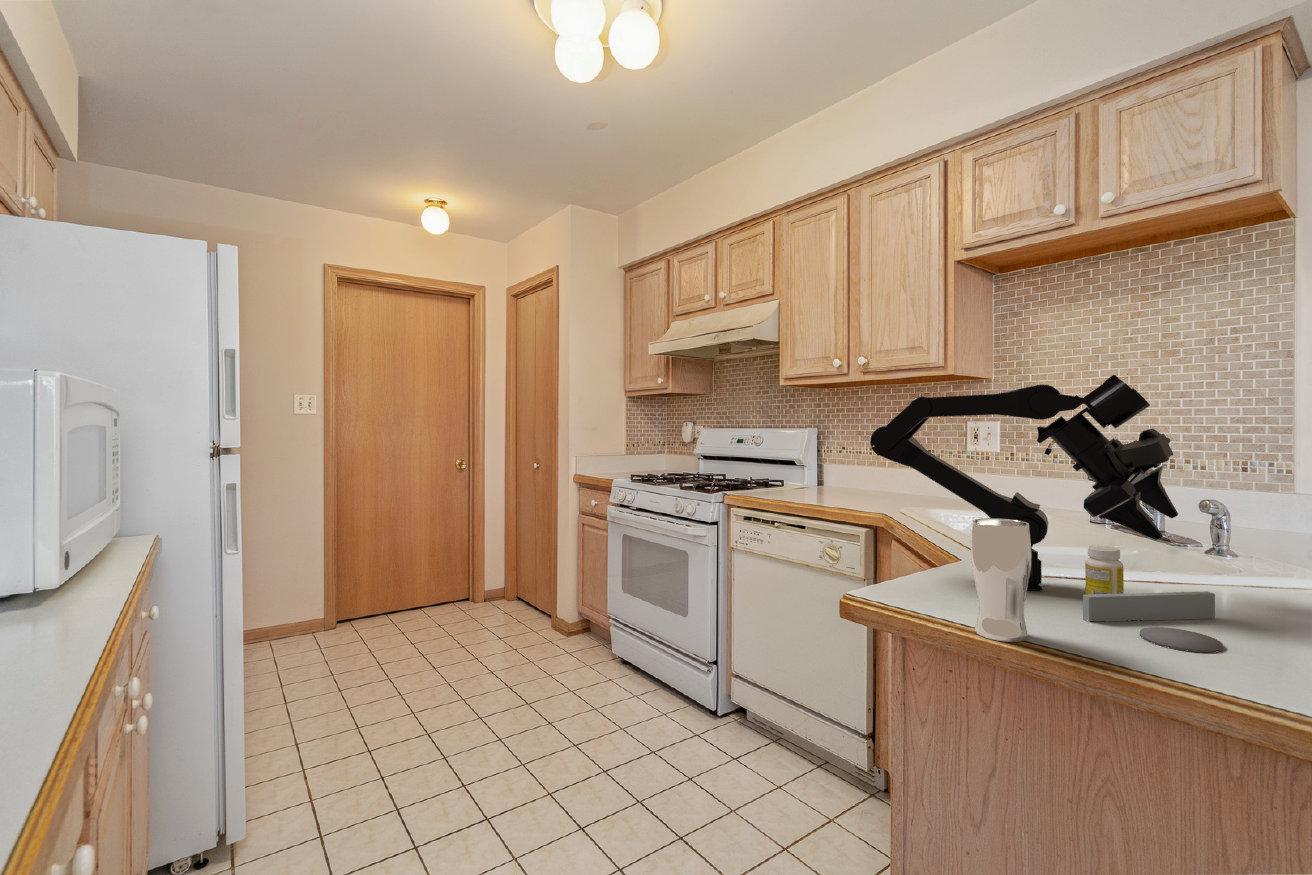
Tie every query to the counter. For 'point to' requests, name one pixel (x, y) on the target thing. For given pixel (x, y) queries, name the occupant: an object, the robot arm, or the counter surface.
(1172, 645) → the coaster
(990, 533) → the beer glass
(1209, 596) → the gray rectangular bar
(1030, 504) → the robot arm
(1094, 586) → the supplement bottle
